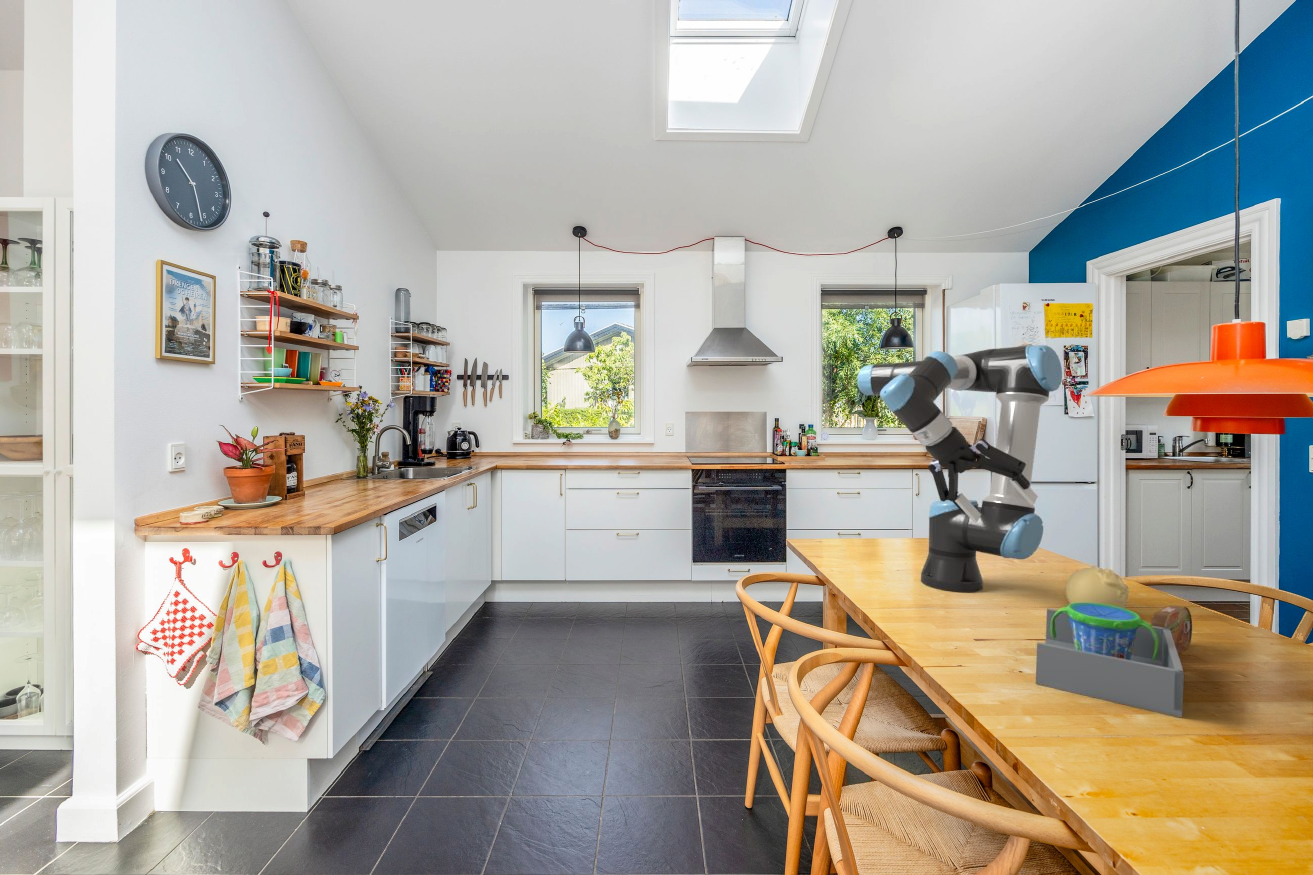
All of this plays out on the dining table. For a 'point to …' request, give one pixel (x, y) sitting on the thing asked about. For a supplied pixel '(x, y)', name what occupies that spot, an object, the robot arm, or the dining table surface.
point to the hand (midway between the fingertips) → (1005, 510)
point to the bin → (1113, 669)
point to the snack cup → (1104, 629)
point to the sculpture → (1097, 587)
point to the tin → (1175, 625)
